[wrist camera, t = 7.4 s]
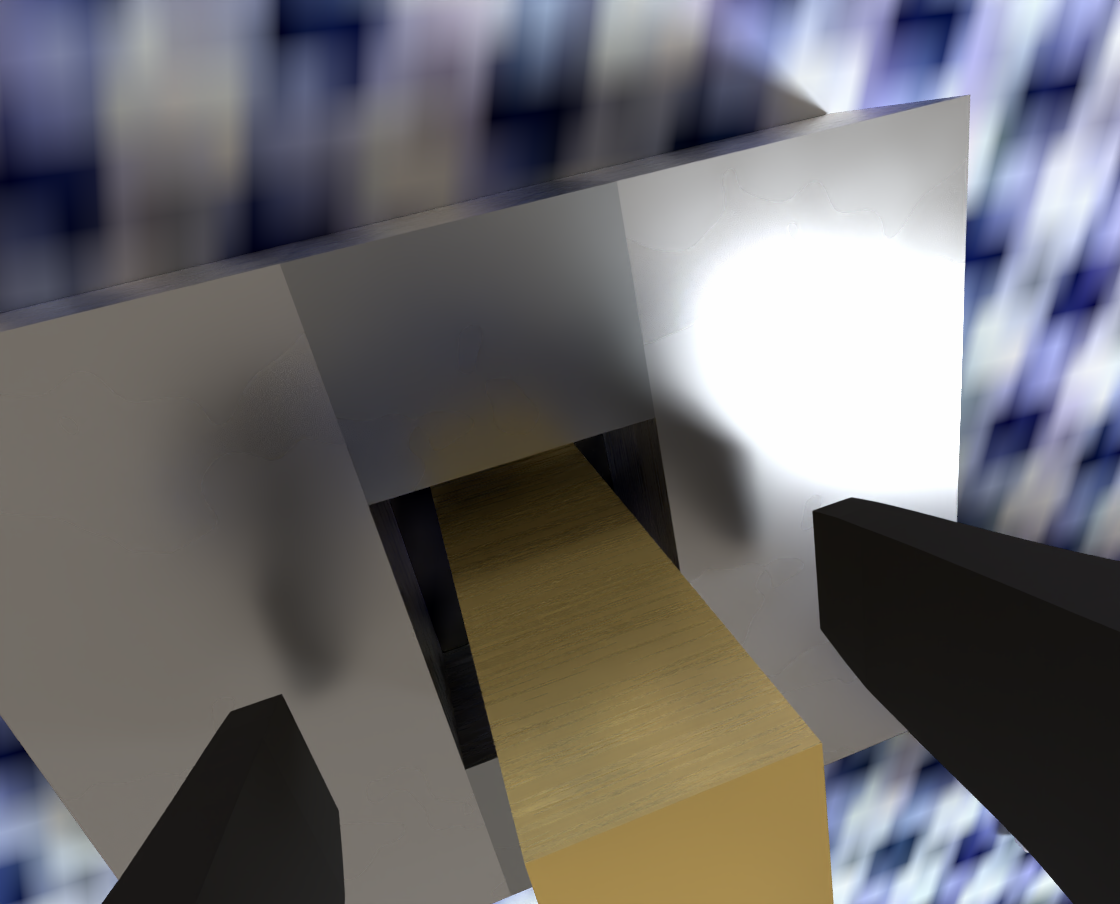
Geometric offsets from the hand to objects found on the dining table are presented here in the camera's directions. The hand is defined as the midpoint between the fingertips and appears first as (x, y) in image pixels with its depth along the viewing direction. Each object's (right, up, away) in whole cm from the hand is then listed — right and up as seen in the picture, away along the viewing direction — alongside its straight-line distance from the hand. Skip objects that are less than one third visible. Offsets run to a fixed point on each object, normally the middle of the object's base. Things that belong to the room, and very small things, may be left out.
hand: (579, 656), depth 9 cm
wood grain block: (-1, +2, +4) cm, 4 cm away
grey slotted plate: (-1, +2, +4) cm, 4 cm away
